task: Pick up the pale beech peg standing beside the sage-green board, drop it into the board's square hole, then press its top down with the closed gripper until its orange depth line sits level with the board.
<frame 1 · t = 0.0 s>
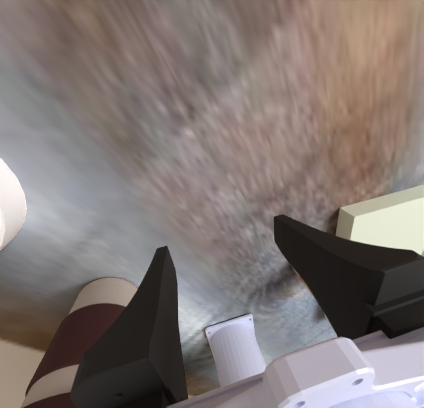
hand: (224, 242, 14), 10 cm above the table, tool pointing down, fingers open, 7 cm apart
board: (368, 258, 35), on the table
coffee cup: (111, 295, 27), on the table
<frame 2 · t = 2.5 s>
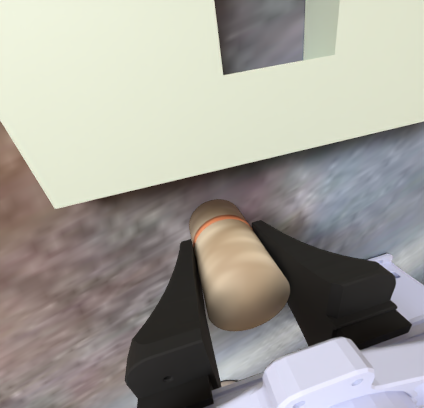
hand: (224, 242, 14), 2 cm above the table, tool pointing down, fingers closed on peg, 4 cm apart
board: (255, 6, 10), on the table
peg: (215, 223, 16), on the table, touching gripper
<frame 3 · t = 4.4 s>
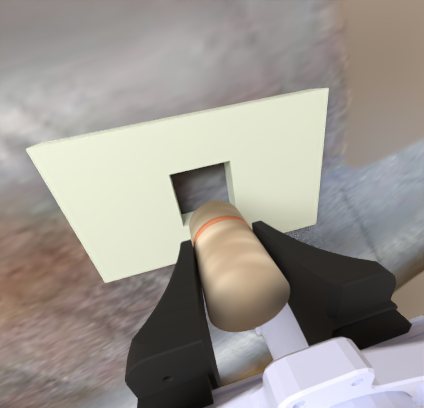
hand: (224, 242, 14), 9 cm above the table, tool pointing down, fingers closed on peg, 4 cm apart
board: (201, 185, 22), on the table
peg: (215, 224, 16), point 7 cm above the table, touching gripper
when the fingers open (4 cm above the table, at t = 6.6 s): peg drops 1 cm, resting in board.
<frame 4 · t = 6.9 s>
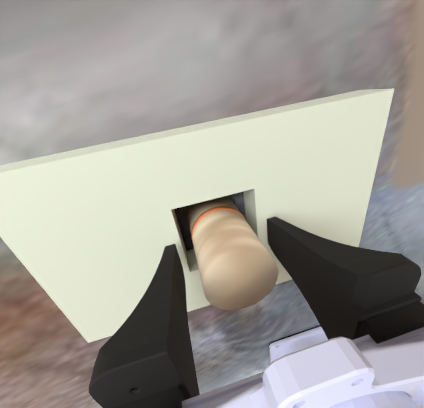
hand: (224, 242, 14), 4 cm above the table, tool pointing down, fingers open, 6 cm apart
board: (212, 215, 17), on the table
peg: (212, 215, 17), resting in board
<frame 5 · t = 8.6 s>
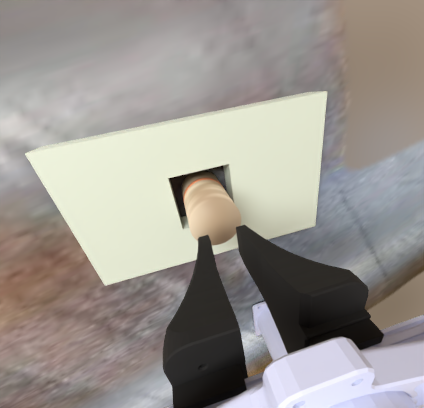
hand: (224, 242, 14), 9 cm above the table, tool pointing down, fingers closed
board: (200, 188, 22), on the table
peg: (200, 188, 22), resting in board
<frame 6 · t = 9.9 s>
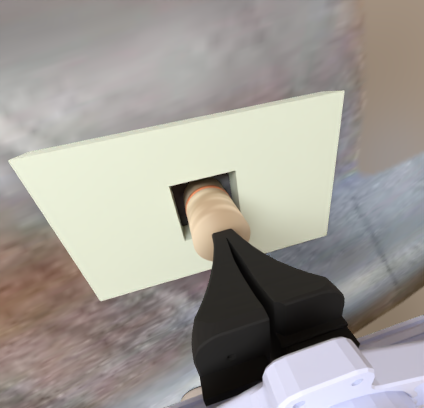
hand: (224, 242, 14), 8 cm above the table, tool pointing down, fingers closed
board: (203, 195, 20), on the table
peg: (203, 196, 20), resting in board
coffee cup: (200, 393, 38), on the table
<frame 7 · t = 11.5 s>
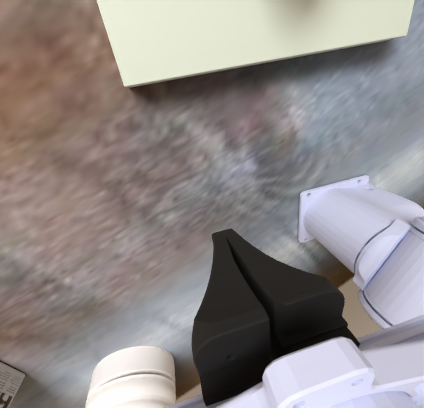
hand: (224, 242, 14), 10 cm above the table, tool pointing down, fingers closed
honey pot: (135, 368, 35), on the table
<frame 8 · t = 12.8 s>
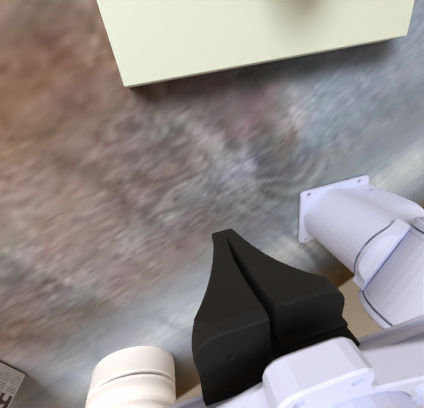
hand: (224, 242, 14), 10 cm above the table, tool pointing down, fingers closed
honey pot: (135, 368, 35), on the table
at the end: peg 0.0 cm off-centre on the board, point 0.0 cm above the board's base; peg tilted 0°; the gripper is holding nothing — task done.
